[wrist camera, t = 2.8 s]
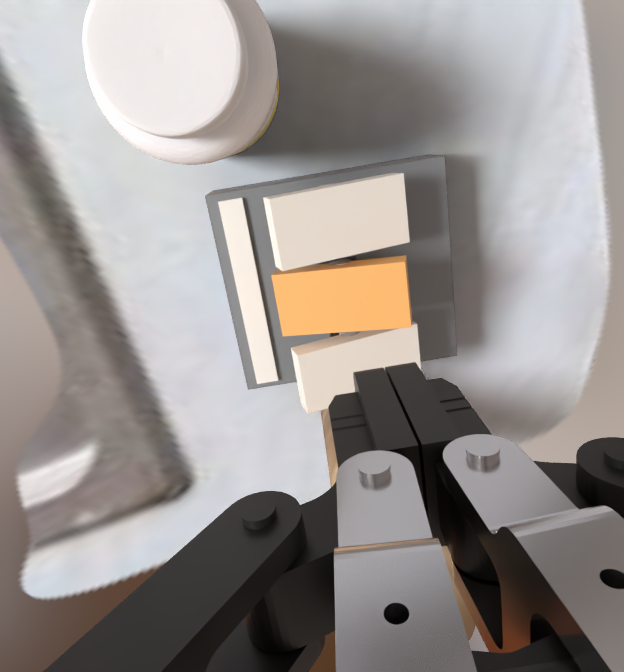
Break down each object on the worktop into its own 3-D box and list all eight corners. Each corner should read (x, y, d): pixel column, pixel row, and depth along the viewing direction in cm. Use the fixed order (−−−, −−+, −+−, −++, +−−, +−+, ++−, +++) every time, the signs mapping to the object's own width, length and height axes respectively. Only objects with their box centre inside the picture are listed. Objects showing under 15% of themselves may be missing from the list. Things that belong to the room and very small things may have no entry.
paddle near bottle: (260, 196, 19) (269, 198, 18) (386, 172, 21) (403, 172, 19) (272, 264, 20) (282, 271, 19) (393, 237, 22) (409, 241, 20)
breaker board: (212, 190, 24) (199, 199, 20) (428, 154, 24) (455, 157, 20) (251, 368, 27) (246, 403, 23) (442, 336, 27) (466, 367, 23)
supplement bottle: (141, 14, 21) (25, -91, 12) (277, 15, 22) (273, -86, 12) (155, 158, 23) (66, 169, 14) (280, 158, 24) (278, 168, 14)
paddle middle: (280, 265, 22) (271, 275, 20) (406, 252, 20) (404, 261, 19) (291, 323, 23) (282, 336, 21) (412, 314, 21) (411, 327, 20)
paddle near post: (287, 344, 22) (297, 355, 20) (400, 314, 23) (417, 323, 21) (298, 399, 22) (308, 414, 21) (406, 368, 24) (422, 379, 22)
